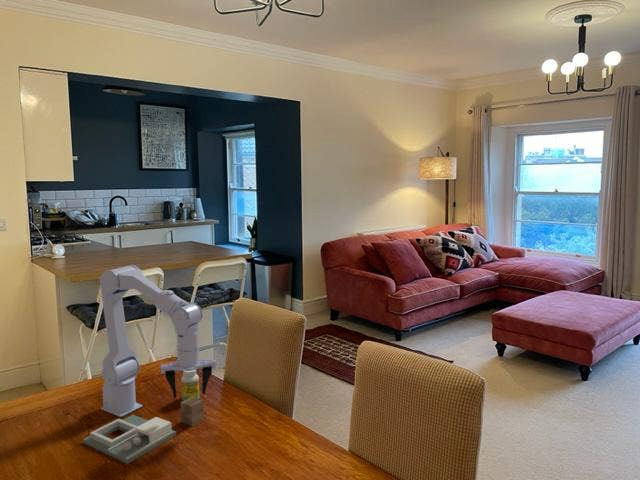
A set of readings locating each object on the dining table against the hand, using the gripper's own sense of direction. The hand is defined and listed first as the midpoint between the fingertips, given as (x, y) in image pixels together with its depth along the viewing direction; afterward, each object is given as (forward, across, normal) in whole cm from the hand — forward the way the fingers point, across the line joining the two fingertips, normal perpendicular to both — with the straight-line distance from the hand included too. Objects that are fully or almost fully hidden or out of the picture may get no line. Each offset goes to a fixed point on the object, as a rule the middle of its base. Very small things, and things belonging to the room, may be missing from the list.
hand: (189, 394), depth 141 cm
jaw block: (+10, +1, +4) cm, 11 cm away
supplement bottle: (+10, +1, +19) cm, 22 cm away
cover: (+9, -10, -3) cm, 14 cm away
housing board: (+10, -16, -1) cm, 19 cm away
